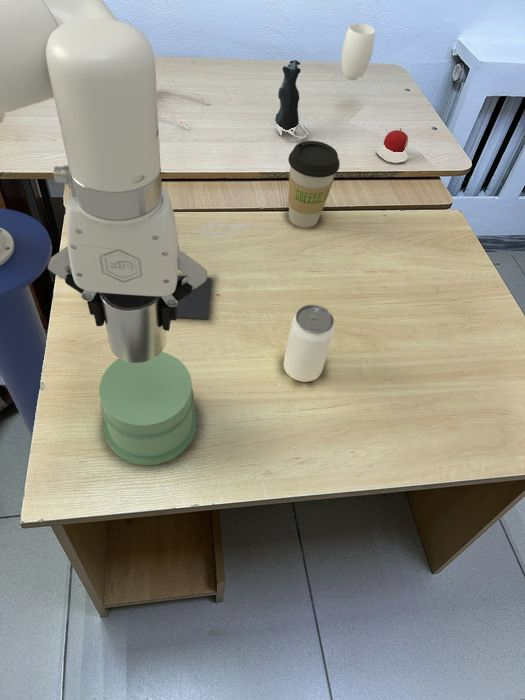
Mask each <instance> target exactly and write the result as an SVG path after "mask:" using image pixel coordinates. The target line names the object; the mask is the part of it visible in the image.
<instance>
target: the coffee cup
mask: <svg viewBox="0 0 525 700" xmlns="http://www.w3.org/2000/svg"><path fill="white" fill-rule="evenodd" d="M287 160H288V164H289V172H288V219H289V221H290V222H291V223H292V224H293V225H294V226H296V227H299V228H312V227H314V226H316V225H317V224H318V222H319V219H320V216H321V214H322V211H323V210H324V208H325V204H326V202H327V199H328V196H329V193H330V191H331V188H332V186H333V183H334V177H335V175H336V173H337V172H338V171H339V169H340V159H339V154H338V152H337V150H336V149H335V148H334V147H333V146H331V145H330V144H328V143H325V142H322V141H317V140H304V141H301V142H299V143H297V144H296V145H295V146H294V147H293V149H292V150H291V151H290V153H289V155H288V159H287Z"/></svg>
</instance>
